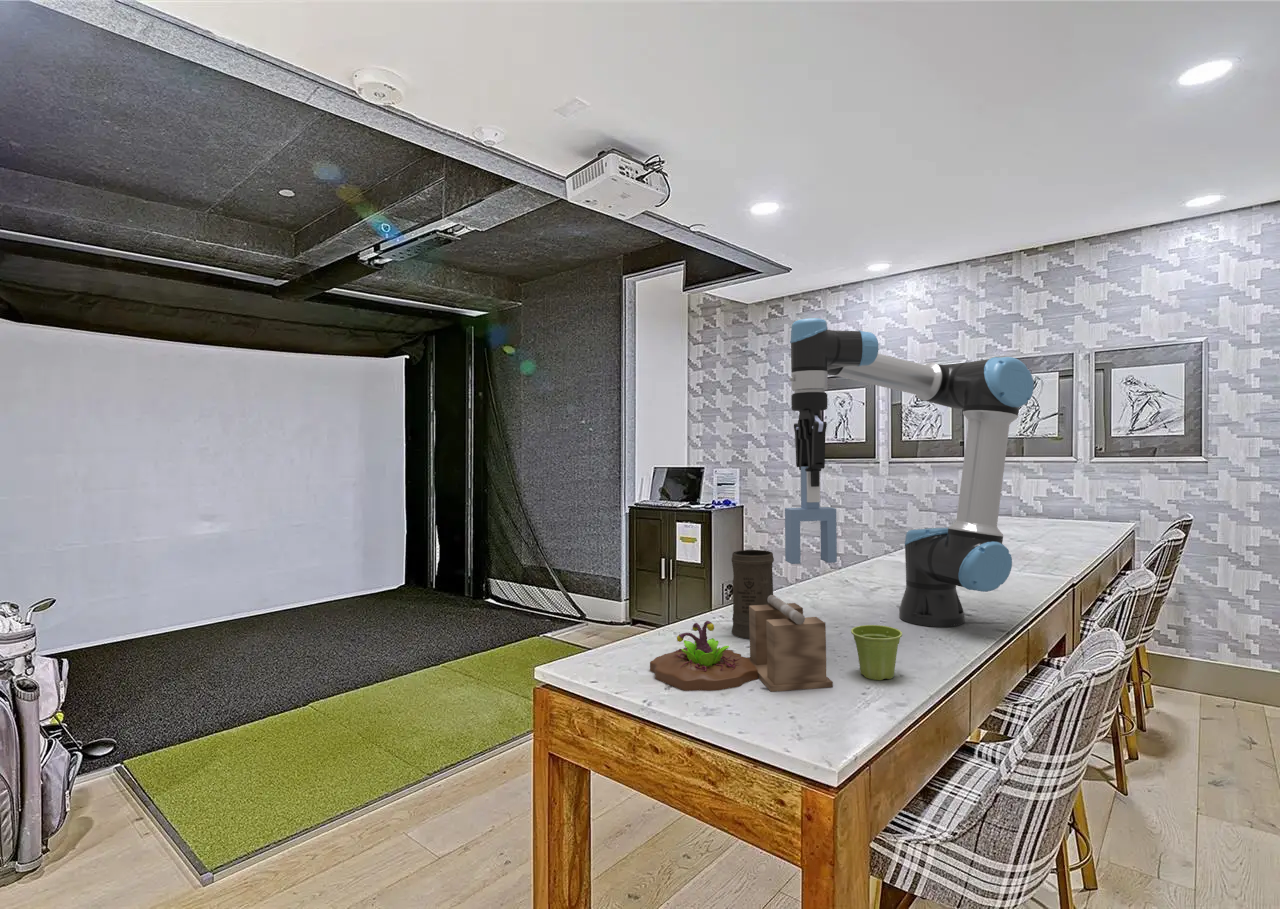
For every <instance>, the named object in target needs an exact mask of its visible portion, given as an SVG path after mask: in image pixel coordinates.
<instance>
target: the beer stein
mask: <svg viewBox="0 0 1280 909" xmlns="http://www.w3.org/2000/svg"><path fill="white" fill-rule="evenodd" d="M774 561H775V557H774V553H773V552H772V551H770V550H764V549H763V550H762V549H744V550H741V549H740V550H737V551H733V552H732V554H731V563H732V564H731V565H732V571H733V572H732V573H733V574H732V575H733V579H732V619H731V620H732V627H731V633H732V635H734V636H735V637H737V638H741V639H746V640H750V632H749V606H752V605H769V603H768V601H767V599H768V597H769V596H770V595H774V579H773V576H774V575H773V563H774Z"/></svg>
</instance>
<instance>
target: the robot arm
mask: <svg viewBox="0 0 1280 909" xmlns="http://www.w3.org/2000/svg"><path fill="white" fill-rule="evenodd" d="M790 328H791V330H790V340H789V343H790V368H791V369H790V371H791V372H790V375H791V376H789V378H788V379H789V382H791V391H793V392H794V393H792V394H791V396H790V397H791V398H790V399H791V400H790V401H791V402H790V403H791V411H793V412H799V414H798V420H797V422H796V423H793V431H794V440H795V441H794V442H795V444H794V445H795V465H796V468H798V470H799V472H800V473H799V474H800V476H799V477H800V483H799V484H801V467H804V466H808V468H807V469H805V471H806V475H807V502H820V503H821V471H822V469H824V468H825V466H826V464H825V463H826V461H825V460H826V434H827V433H826V432H827V428H828V427H827V426H828V423H827V421H822V415H821V411H826V410H828V393H827V392H826V391H828V385H829V384H828V378H829V377H828V376H829V375H830V376H834V377H839V378H842V379H843V378H844V379H848V380H852V381H855V382H856V381H857V382H860V383H864V384H868V385H872V386H876V387H882V388H887V389H890V390H894V391H899V392H903V393H907V394H912V395H915V396H916V398H917V399H918V400H920V401H923V402H928V403H932V404H935V405H939V406H943V407H947V408H952V409H956V410H962V415H963V416H964V417H965V418H966V419H967V421H968V424H967V432H966V440H965V447H964V448H965V449H964V454H963V455H964V456H963V465H962V470H961V471H962V472H961V481H960V487H959V495H958V505H957V512H956V519H955V522H953V523H952V524H951V525H949V526H948V527H935V528H934V527H931V528H917V529H916V528H915V529H909V530H908V531H906V533H905V539H904V557H905V590H904V593H903V596H902V599H901V602H900V605H899V609H898V612H899V614H898V615H899V616H898V617H899V619H900V620H901V621H904V622H905V623H909V624H913V625H918V626H919V625H920V626H924V627H926V626H927V627H933V628H934V627H937V628H939V627H940V628H941V627H943V628H944V627H946V628H947V627H956V626H960V625H963V624H965V612H964V608H963V606H962V603H961V600H960V597H959V594H958V592H957V586H958V587H961V588H964V589H966V590H968V591H977V592H983V593H984V592H991V591H995V590H996V589H998V588H999V587H1000V586H1001V585H1003V584H1004V583H1005V582H1006V581H1007V580H1008V578H1009V575H1010V574H1011V571H1012V567H1013V558H1012V557H1013V556H1012V554H1011V553H1010V551H1009V548H1007V546H1005V544H1003V543H1004V541H1003V540H1004V534H1003V533H1002V532H1001V531H1000V529H999V528H998V521H999V512H1000V505H1001V504H1000V503H1001V496H1002V488H1003V479H1004V472H1005V464H1006V457H1007V456H1006V454H1007V450H1008V441H1009V433H1010V432H1009V431H1010V425H1011V424H1012V423H1013V422H1014V421H1015V420H1017V419H1018V418H1019V411H1020V408H1021V407H1023V406H1025V405H1027V403H1028V401H1030V400H1031V398H1032V397H1033V394H1034V389H1035V388H1034V386H1035V385H1034V384H1035V383H1034V378H1033V376H1032V372H1031V370H1030V369H1028V367H1027V365H1026V364H1025V363H1024V362H1023V361H1021V360H1020V359H1018V358H1017V357H1013V356H1004V357H1002V356H1001V357H1000V356H995V357H991V358H986V359H980V360H979V359H978V360H974V361H968V362H961V363H953V364H950V363H949V364H939V363H936V362H927V363H925V364H922V363H918V362H914V361H909V360H907V359H906V360H905V359H902V358H898V357H894V356H890V355H886V354H882V353H879V341H878V338H877V336H876V335H875V334H874V333H873V332H870V331H863V330H834V329H828V328H829V327H828V322H827V321H826V320H825V319H823V318H818V317H817V318H814V317H812V318H801V319H798V320H795V321H794V322H793V323H792V325H791V327H790ZM809 471H811V472H809Z"/></svg>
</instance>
